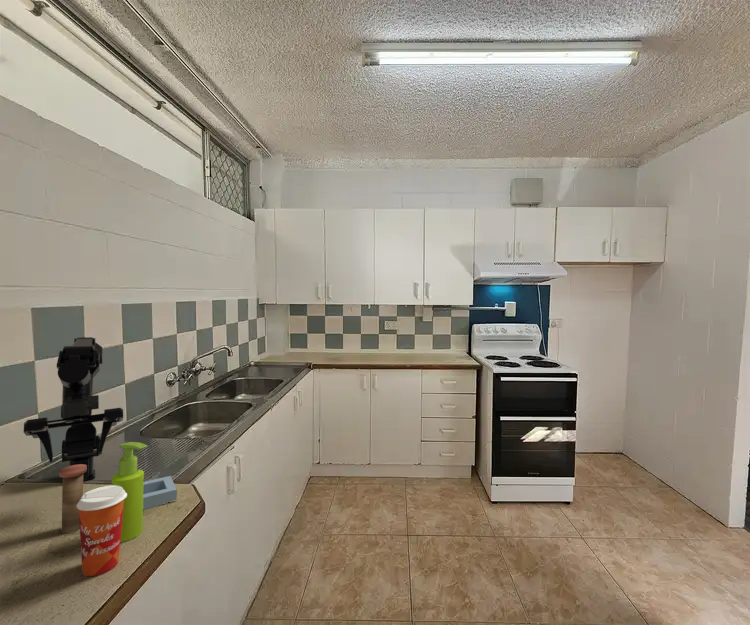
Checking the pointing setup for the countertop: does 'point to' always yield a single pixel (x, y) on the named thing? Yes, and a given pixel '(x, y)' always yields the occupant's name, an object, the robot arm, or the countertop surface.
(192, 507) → the countertop surface
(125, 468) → the soap dispenser
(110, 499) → the paper cup
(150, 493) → the hole block
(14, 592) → the countertop surface
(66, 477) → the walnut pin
